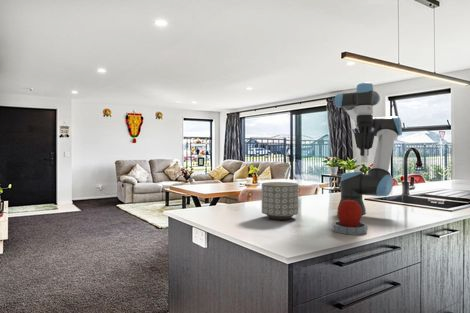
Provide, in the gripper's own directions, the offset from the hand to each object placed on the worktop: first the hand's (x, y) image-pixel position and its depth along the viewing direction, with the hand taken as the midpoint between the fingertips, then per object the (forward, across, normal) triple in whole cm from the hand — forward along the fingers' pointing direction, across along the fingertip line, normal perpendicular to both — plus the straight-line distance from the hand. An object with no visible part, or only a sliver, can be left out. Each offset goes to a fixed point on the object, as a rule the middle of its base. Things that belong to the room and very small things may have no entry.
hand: (364, 162), depth 168 cm
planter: (+30, -36, +21) cm, 51 cm away
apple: (+29, -19, -15) cm, 37 cm away
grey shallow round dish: (+29, -19, -15) cm, 38 cm away
